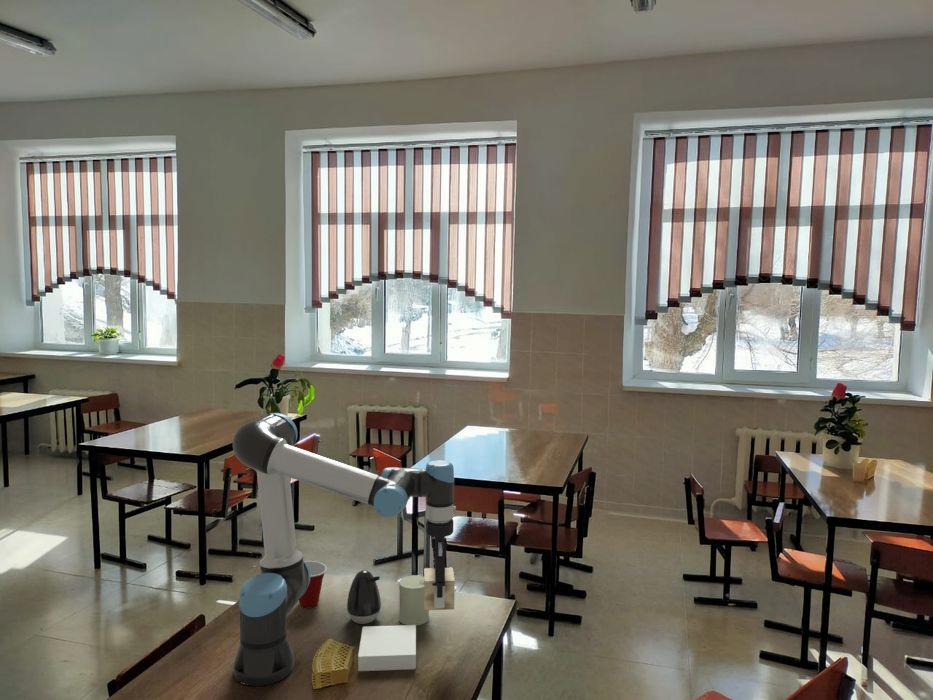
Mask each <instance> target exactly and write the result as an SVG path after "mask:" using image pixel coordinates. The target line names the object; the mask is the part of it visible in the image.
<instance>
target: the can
mask: <svg viewBox="0 0 933 700" xmlns="http://www.w3.org/2000/svg"><path fill="white" fill-rule="evenodd" d="M398 586H399V587H398V589H399V612H398V615H399V616H398V619H399V622H400V623H401V624H403V625H405V624H406V625H416V627H417V625H418V626H421V625H424V624H426V623H427V622H428V621H429V620H430V612H429V611H430V610H424V575H420V574H419V575H418V574H415V575H414V574H412V575H407V576H404V577H402V578H401V579H399V581H398Z"/></svg>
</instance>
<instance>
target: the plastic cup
mask: <svg viewBox="0 0 933 700" xmlns="http://www.w3.org/2000/svg"><path fill="white" fill-rule="evenodd" d="M304 562H305V563H307V565H308V566H309V569H310V582H309V585H308V587H307V590H306V592H305V593H304V595H303V596H302V597H301V598H300V599H299V600H298V603H299V606H300V605H301V606H302V608H303V607H306V609H309V608H308V607H311V608H314V607H316V606H317V605H318V604H319V601H320V594H321V590H322V586H323V585H322V584H323V579H324V576H325V573H326V572H327V566H326V564H324V563H322V562H320V561H314V560H313V561H312V560H306V561H305V560H304ZM301 606H300V607H301ZM313 606H314V607H313Z"/></svg>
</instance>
